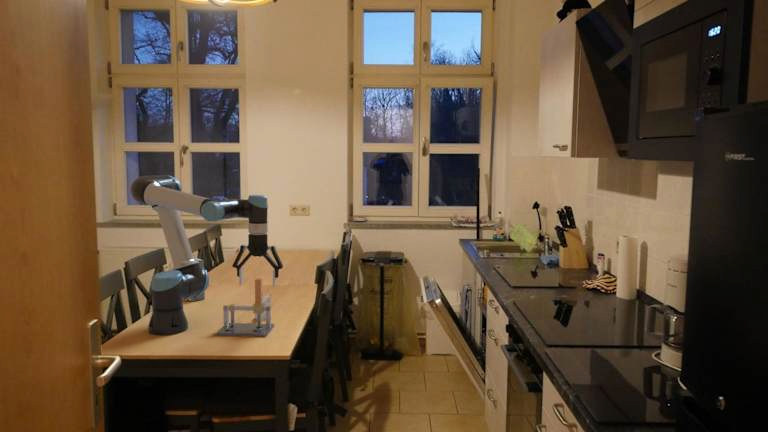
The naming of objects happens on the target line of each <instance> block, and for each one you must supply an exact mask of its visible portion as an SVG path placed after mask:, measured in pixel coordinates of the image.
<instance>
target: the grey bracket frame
mask: <svg viewBox="0 0 768 432" xmlns="http://www.w3.org/2000/svg"><path fill="white" fill-rule="evenodd" d="M253 306H254V305H237V304H236V303H231V304H227V305H225V304H224V305H223V326H224V327H228V326H229V323H231V327H234V326H235V323H236V322H235V312H236V311H243V312H244V311H245V312H246V311H247V312H248V311H251V312H252V311H253V312H254V310H253ZM263 311H266V319H265V324H266V328H270V327H271V324H272V321H271V319H272V316H271V315H272V313H271V311H272V309H271V310H270V306H263ZM229 312H230V322H229Z"/></svg>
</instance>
